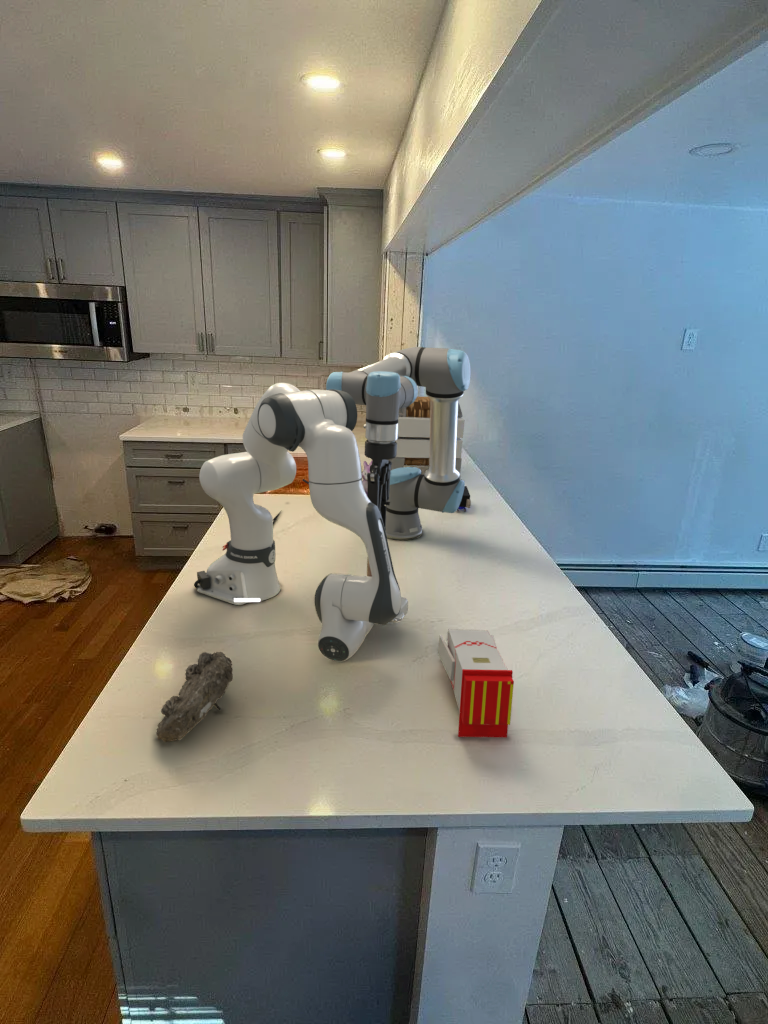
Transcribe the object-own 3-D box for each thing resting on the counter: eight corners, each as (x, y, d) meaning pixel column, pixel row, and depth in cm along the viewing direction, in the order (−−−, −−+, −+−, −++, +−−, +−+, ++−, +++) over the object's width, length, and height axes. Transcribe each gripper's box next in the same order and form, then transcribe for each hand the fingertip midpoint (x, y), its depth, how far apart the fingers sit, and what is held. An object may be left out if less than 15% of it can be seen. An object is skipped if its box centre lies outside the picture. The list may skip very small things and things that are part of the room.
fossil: (183, 653, 120) (233, 621, 115) (215, 683, 122) (265, 653, 117) (132, 735, 100) (190, 701, 95) (171, 768, 103) (229, 737, 98)
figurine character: (470, 516, 223) (465, 500, 237) (473, 499, 220) (467, 484, 233) (453, 516, 223) (449, 500, 236) (455, 498, 220) (451, 483, 233)
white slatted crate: (382, 463, 289) (386, 382, 275) (445, 464, 293) (451, 384, 279) (390, 482, 257) (394, 392, 243) (460, 483, 261) (468, 394, 247)
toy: (488, 613, 130) (523, 677, 101) (484, 667, 133) (517, 744, 104) (435, 612, 130) (455, 676, 101) (432, 666, 133) (451, 743, 103)
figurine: (365, 500, 232) (366, 464, 227) (354, 493, 241) (355, 458, 236) (385, 497, 237) (387, 463, 231) (374, 490, 245) (375, 457, 240)
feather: (288, 505, 226) (290, 501, 226) (271, 529, 199) (273, 524, 199) (284, 503, 226) (287, 499, 225) (266, 526, 199) (269, 522, 199)
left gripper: (401, 610, 130) (415, 584, 142) (318, 595, 135) (339, 571, 148) (399, 634, 132) (414, 606, 144) (318, 618, 137) (339, 592, 150)
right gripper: (375, 431, 140) (372, 520, 148) (354, 446, 125) (352, 543, 133) (405, 434, 139) (400, 523, 147) (387, 449, 123) (382, 548, 131)
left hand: (375, 588), depth 146 cm, fingers closed on bottle, 4 cm apart
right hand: (377, 533), depth 140 cm, fingers closed on cap, 4 cm apart
